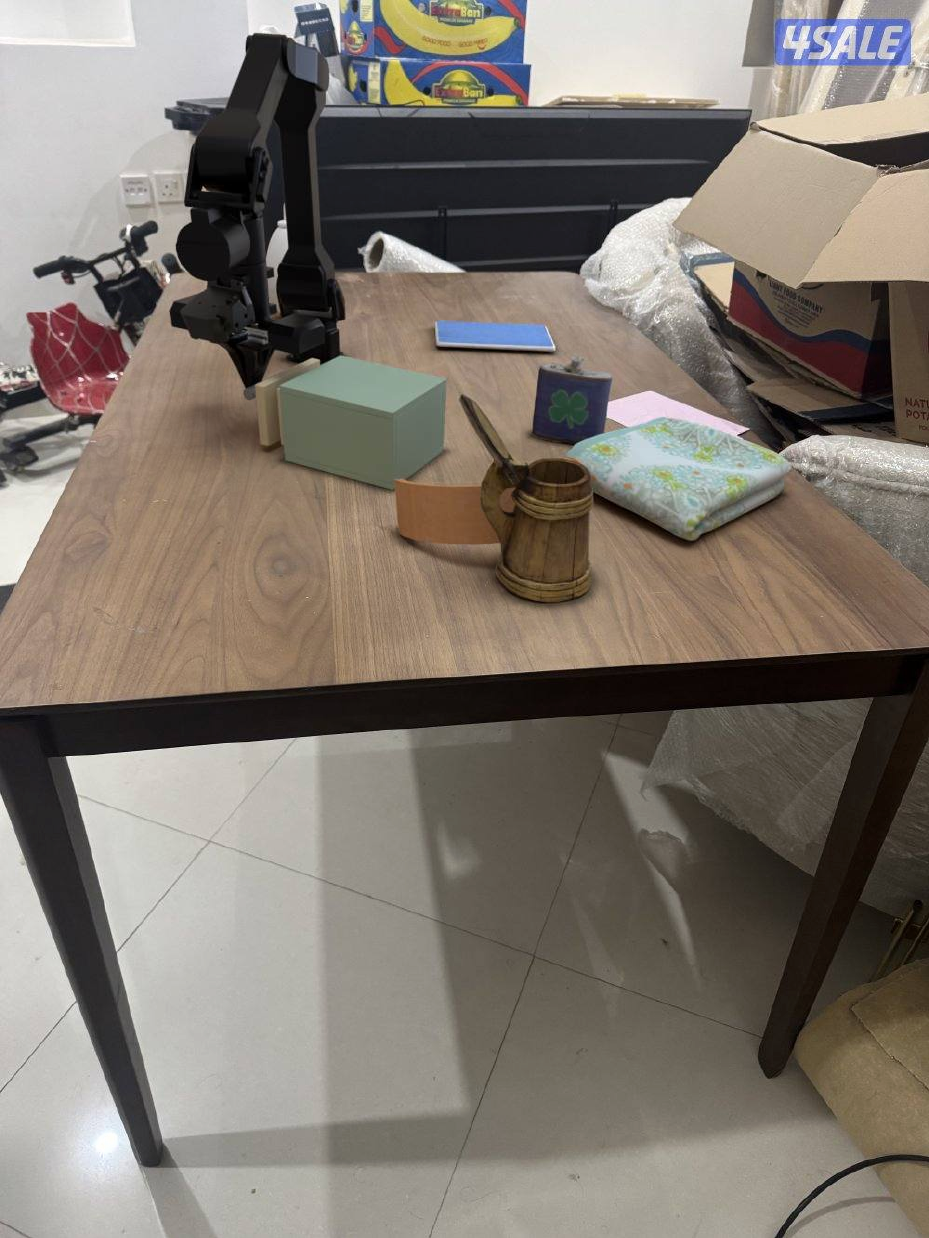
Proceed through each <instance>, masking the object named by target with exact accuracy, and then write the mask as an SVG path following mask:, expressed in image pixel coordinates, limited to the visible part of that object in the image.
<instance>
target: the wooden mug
mask: <svg viewBox="0 0 929 1238" xmlns="http://www.w3.org/2000/svg"><path fill="white" fill-rule="evenodd" d="M458 401H459V403H460V406H461V407H462V409H463V412H464V414H465V416H466V418H467V420H468V422H469V424H470V426H471V427H472V429H473V430H474V432H475V434H476V436H477V437H478V438H479V440H480V441H481V443H482V444H483V446H484V448H485V449H486V451H487V452H488V453H489V455H490V456H491V458H492V459H493V461H492V463H491V465H490V466H489V467H488V468H487V471H486V473H485V475H484V477H483V478H482V482H481V485H482V486H481V492H480V498H481V506H482V509H483V511H484V513H485V515H486V517H487V519H488V521H489V523H490V524H491V526H492V527H493V529H494V531H495V532H496V534H497V536H498V538H499V541H500V543H499V544H500V555H499V557H498V560H497V562H496V566H495V575H496V577H497V578H498V579H499V581H500V582H501V583H502V585H503V586H504V587H505V588H506V589H507V590H508V591H510V592H511V593H512V594H514V595H516V596H518V597H519V598H523V599H526V600H531V601H535V602H543V603H559V602H560V603H561V602H564V601H569V600H573V599H575V598H578V597H580V596H583V595H584V594H585V593H587V592H588V591H589V590H590V587H591V584H592V564H591V561H590V560H589V557H590V555H589V554H590V553H589V552H590V511H592V509H593V507H594V492H593V488H592V487H591V485H590V482H591V475H590V472H589V470H588V469H587V468H586V467H585V466H584V465H583V464H581V463H579V462H575V461H572V460H567V459H562V458H558V457H555V458H554V457H550V458H547V457H545V458H540V459H536V460H534V461H533V462H531V463H529V464H528V462H525V461H519V460H518V461H517V460H514V458H513V456H512V455H511V454H510V452H509V450H508V448H507V447H506V445H505V443H504V442H503V440H502V437H500V435H499V433H498V432H497V430H496V429H495V427H494V425H493V423H491V421H490V419H489V417H488V416H487V415H486V413H485V412H484V411H483V410H482V409H481V407H480V406H479V405H478V403H477V402H476V401H474V399H472V398H470V397H469V396H467V395H465V394H464V393H461V395H460V397H459V398H458ZM507 488H515V489H514V491H513V492H512V493H511V497H512V500H513V501H514V503H515V507H514V510H513V512H505V511H503V510H502V509H501V507H500V505H499V498H500V495H501V494H502V492H503V491H504V490H506V489H507Z"/></svg>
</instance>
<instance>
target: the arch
mask: <svg viewBox="0 0 929 1238" xmlns="http://www.w3.org/2000/svg"><path fill="white" fill-rule="evenodd" d="M561 459H567V460H572V461H575V462H579V463H581V461H580V460H578V459H576V458H574V457H570V456H568V457H567V458H565V457H562V458H561ZM394 485H395V488H394V496H395V506H396V519H397V529H398V535H400V536H403V537H404V538H408V539H411V540H414V541H419V542H424V543H433V544H443V545H444V544H445V545H495V544H501V543H500V541H499V538H498V536H497V534H496V532H495V531H494V529H493V527H492V526H491V524H490V523H489V521H488V519H487V517H486V515H485V513H484V511H483V509H482V506H481V498H480V492H481V486H482V484H477V485H475V484H474V485H449V484H447V485H445V484H444V485H443V484H429V483H421V482H414V481H410V480H407V479H406V480H404V479H399V480H398V479H394ZM514 489H515V488H507V489H506V490H504V491H503V492H502V494H501V495H500V498H499V505H500V507H501V509H502V510H503V511H505V512H513V510H514V507H515V503H514V501H513V500H512V497H511V493H512V492H513V491H514Z"/></svg>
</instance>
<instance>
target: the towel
mask: <svg viewBox="0 0 929 1238" xmlns="http://www.w3.org/2000/svg"><path fill="white" fill-rule="evenodd" d="M568 456H570V457H574V458H576V459H578V460H580V461H581V464H583V465H584V466H585V467H586V468H587V469H588V470H589V472H590V475H591V482H590V485H591V487H592V488H593V494H596V495H598V496H600V497H602V498H603V499H606V500H608V501H609V502H611V503H613V504H616V505H618V506H619V507H621V508H623V509H626V510H629V512H632V513H634V514H636V515H638V516H640V517H642V518H643V519H646V520H648V521H649V522H650V523H651V522H652V523H653V524H655V525H657V526H659V527H660V528H662V529H663V530H666V531H668V532H669V533H671V534H672V535H674V536H676V537H678V538H681V539H684V540H686V541H689V542H693V541H696V540H697V539H698V538H699V537H700V535H702V534H706V533H707V532H711V531H713V530H715V529H717V528H719V527H721V526H724V525H725V524H726V523H728V522H731V521H733V520H735V519H737V518H739V517H741V516H742V515H744V514H746V513H748V512H749V511H751V510H754V509H756V508H758V507H760V506H762V505H763V504H766V503H767V502H770V501H771V500H772V499H774V498H776V497H777V496H778V495H780V493H781V492H782V491H783V490H784V488H785V486H786V482H784V480H783V478H785V477H787V476H789V474H790V473H791V472H792V471H793V467H792V466H791V463H790V462H789V461H788V460H787V459H786V458H785V457H783V456H782V455H780V454H779V453H777V452H775V451H773V450H772V449H771V450H770V449H769V448H766V447H764V446H762V445H759V444H756V443H754V442H751V441H748V440H745V439H743V438H740V437H737V436H736V435H733V434H731V433H728V432H726V431H723V430H720V429H717V428H715V427H712V426H708V425H705V424H702V423H699V422H698V423H697V422H693V421H689V420H686V419H683V418H675V417H667V416H659V417H656V418H653V419H651V420H649V421H647V422H644V423H643V422H642V423H639V424H636V425H633V426H628V427H624V428H619V429H615V430H611V431H608V432H604V433H603V434H600V435H597V436H594V437H591V438H588V439H586V440H583V441H581V442H578V443H577V444H573V446H572V448H571V449H570V450H568V451H566V453H565V454H564V458H567V457H568Z"/></svg>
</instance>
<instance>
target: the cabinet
mask: <svg viewBox="0 0 929 1238" xmlns="http://www.w3.org/2000/svg"><path fill="white" fill-rule="evenodd" d="M279 389H280V403H281V416H282V429H283V442H284V445H283V451H284V452H283V454H284V461H286V462H288V463H289V462H290V463H294V464H297V465H300V466H305V467H307V468H308V467H309V468H311V469H314V470H318V471H322V472H326V473H329V474H333V475H336V476H340V477H343V478H347V479H351V480H355V481H357V482H362V483H366V484H369V485H373V486H376V487H380V488H383V489H387V490H391V491H394V490H395V485H394V479H398V480H399V479H404V480H406V481H407V479H409V478H410V477H412V476H413V475H414V474H416V473H417V472H418V471H419V470H421V469H422V468H424V466H426V465H427V464H428V463H430V462H432V460H434V459H435V458H436V457H438V456H439V455H440V454H441V453H443V452H444V450H445V433H446V432H445V431H446V430H445V427H446V405H447V403H446V401H447V378H445V377H441V376H437V375H432V374H428V373H423V372H418V371H414V370H409V369H406V368H405V369H404V368H400V367H396V366H391V365H387V364H383V363H379V362H378V363H377V362H373V361H368V360H364V359H359V358H356V357H351V356H346V355H344V356H342V355H341V356H339V357H337V358H334V359H332V360H330V361H328V362H326V363H324V364H322V365H320V366H318V367H316V368H314V369H312V370H310V371H308V372H306V373H304V374H302V375H300V376H298V377H296V378H293V379H291V380H289V381H287V382H285V383H283V384H281V385H279Z"/></svg>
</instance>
